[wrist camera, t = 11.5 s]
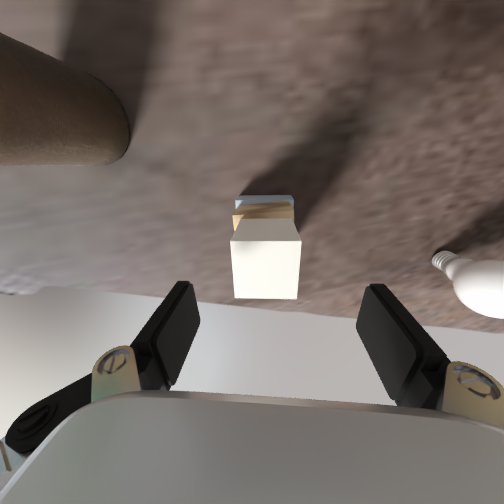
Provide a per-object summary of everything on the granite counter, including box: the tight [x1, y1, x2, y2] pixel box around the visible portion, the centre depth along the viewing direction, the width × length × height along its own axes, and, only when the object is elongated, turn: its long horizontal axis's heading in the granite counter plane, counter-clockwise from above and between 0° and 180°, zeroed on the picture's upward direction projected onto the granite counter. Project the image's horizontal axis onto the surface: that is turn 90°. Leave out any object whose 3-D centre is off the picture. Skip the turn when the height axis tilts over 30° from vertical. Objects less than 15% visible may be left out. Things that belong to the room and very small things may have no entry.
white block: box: [230, 218, 302, 299], centre depth 17 cm, size 5×5×6 cm
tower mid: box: [232, 201, 294, 231], centre depth 22 cm, size 6×6×5 cm
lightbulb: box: [432, 251, 504, 319], centre depth 24 cm, size 6×6×11 cm
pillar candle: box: [0, 33, 129, 166], centre depth 18 cm, size 10×10×15 cm
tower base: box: [235, 195, 294, 209], centre depth 27 cm, size 7×7×4 cm
